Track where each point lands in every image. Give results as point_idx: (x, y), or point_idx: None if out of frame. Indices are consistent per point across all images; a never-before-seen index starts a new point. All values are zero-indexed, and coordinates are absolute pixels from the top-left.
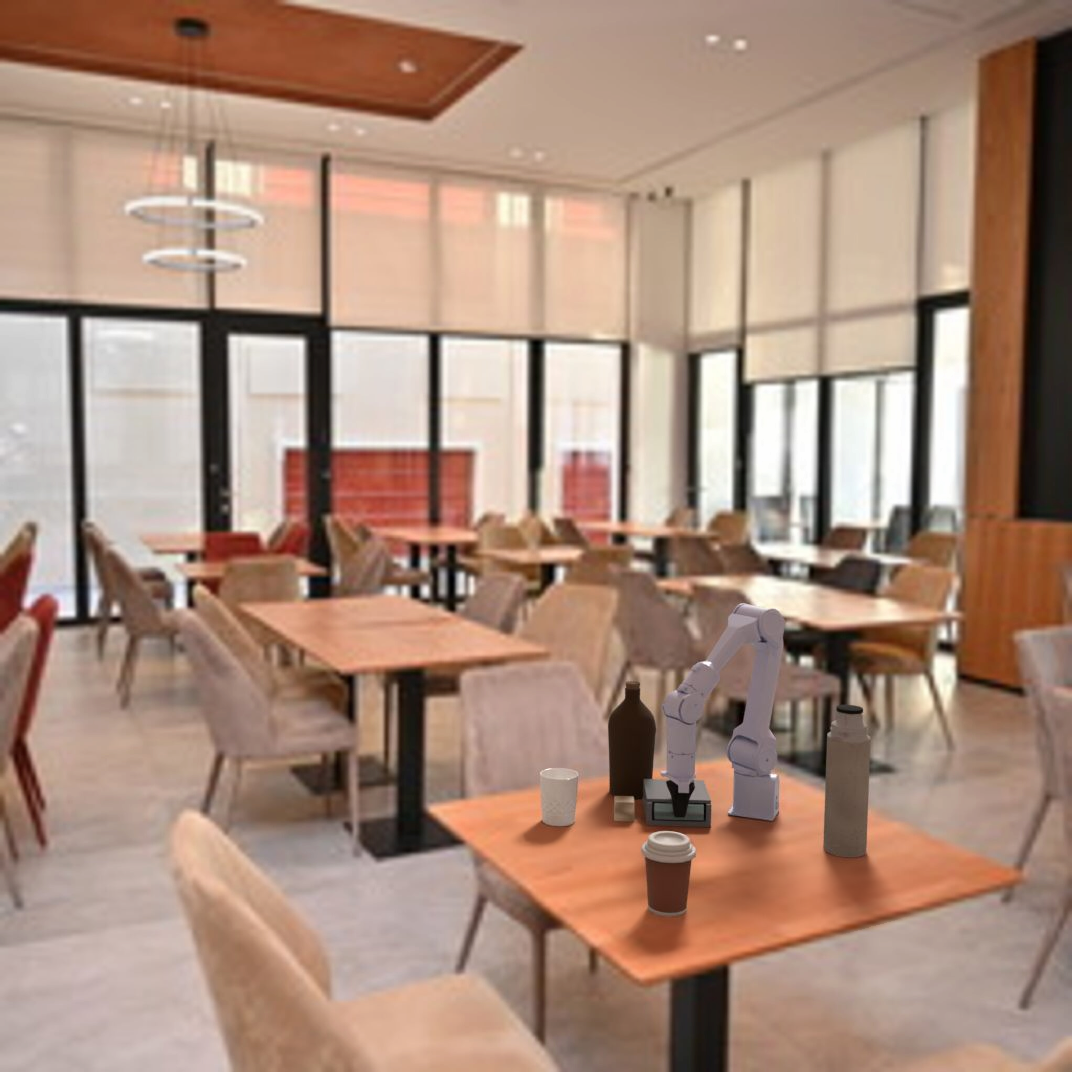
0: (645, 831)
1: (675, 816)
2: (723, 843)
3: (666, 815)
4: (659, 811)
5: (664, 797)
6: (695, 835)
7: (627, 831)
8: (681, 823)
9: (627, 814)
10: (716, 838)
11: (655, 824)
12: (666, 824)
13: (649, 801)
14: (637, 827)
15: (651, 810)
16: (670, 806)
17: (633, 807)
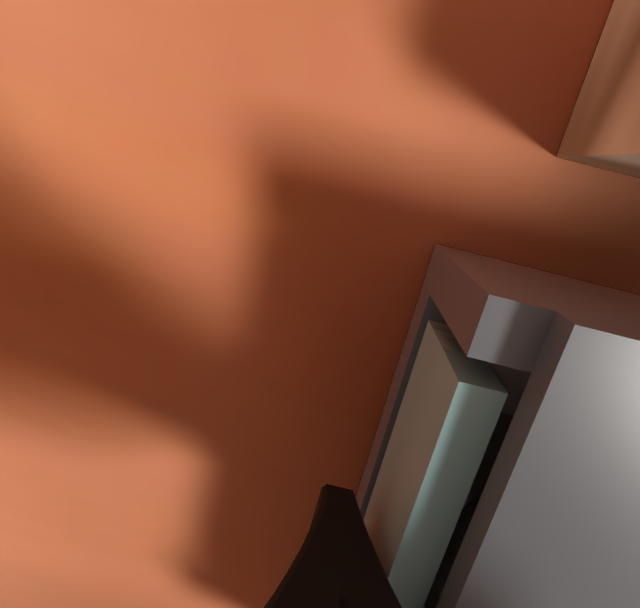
0: (294, 188)
1: (323, 493)
2: (31, 605)
3: (400, 435)
4: (425, 394)
5: (552, 557)
6: (173, 509)
7: (317, 14)
8: (359, 500)
9: (616, 80)
10: (114, 600)
11: (416, 315)
12: (387, 396)
13: (545, 345)
14: (402, 145)
15: (450, 319)
16: (397, 526)
17: (634, 143)
